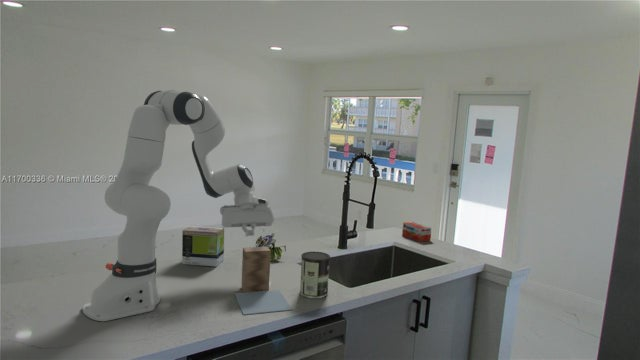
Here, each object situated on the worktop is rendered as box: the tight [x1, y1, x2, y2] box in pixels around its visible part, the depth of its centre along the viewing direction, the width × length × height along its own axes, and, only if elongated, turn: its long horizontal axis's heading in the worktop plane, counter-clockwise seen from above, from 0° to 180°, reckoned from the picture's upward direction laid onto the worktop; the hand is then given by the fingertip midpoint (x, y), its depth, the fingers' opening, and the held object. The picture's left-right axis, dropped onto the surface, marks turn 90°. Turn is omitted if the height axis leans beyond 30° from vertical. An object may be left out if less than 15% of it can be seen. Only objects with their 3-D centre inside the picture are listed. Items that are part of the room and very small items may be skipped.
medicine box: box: [401, 221, 432, 243], centre depth 246 cm, size 15×8×8 cm, turn 32°
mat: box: [234, 289, 293, 316], centre depth 147 cm, size 17×16×1 cm
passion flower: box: [255, 233, 287, 263], centre depth 196 cm, size 13×12×14 cm
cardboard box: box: [241, 246, 271, 293], centre depth 158 cm, size 9×5×15 cm, turn 110°
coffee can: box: [299, 251, 331, 299], centre depth 157 cm, size 10×10×14 cm
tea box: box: [181, 225, 225, 267], centre depth 184 cm, size 15×10×15 cm, turn 84°
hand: (250, 235), depth 167 cm, fingers closed
